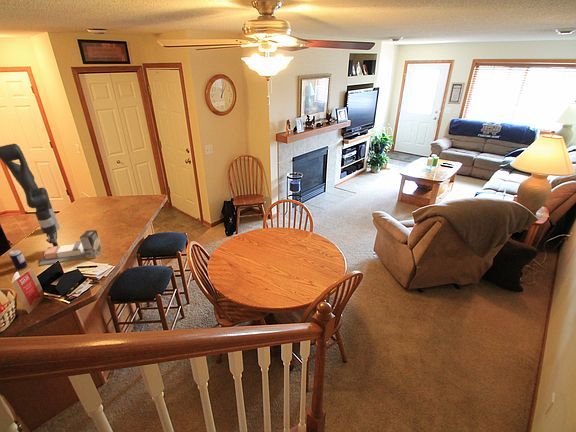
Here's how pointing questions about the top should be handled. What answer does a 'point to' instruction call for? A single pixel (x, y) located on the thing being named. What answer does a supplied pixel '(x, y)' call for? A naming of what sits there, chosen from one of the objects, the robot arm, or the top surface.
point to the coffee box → (91, 244)
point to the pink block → (51, 252)
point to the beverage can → (18, 259)
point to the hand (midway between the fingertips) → (56, 246)
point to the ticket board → (64, 259)
